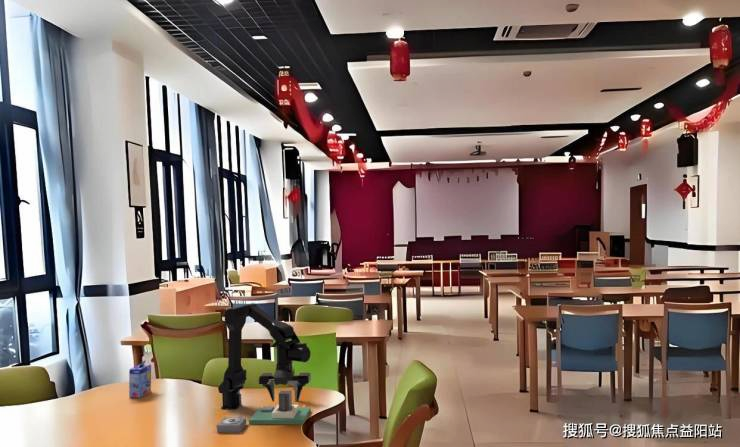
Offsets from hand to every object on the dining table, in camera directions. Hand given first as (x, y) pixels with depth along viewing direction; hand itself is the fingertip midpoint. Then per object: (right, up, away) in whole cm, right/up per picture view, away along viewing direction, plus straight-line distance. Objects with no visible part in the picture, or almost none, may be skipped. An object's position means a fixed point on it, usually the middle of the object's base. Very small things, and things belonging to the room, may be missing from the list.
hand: (285, 401), depth 207 cm
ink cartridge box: (-69, -8, +35) cm, 77 cm away
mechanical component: (+2, -6, +20) cm, 21 cm away
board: (-2, -6, 0) cm, 6 cm away
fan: (-18, -7, -10) cm, 21 cm away
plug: (0, -5, 0) cm, 5 cm away
